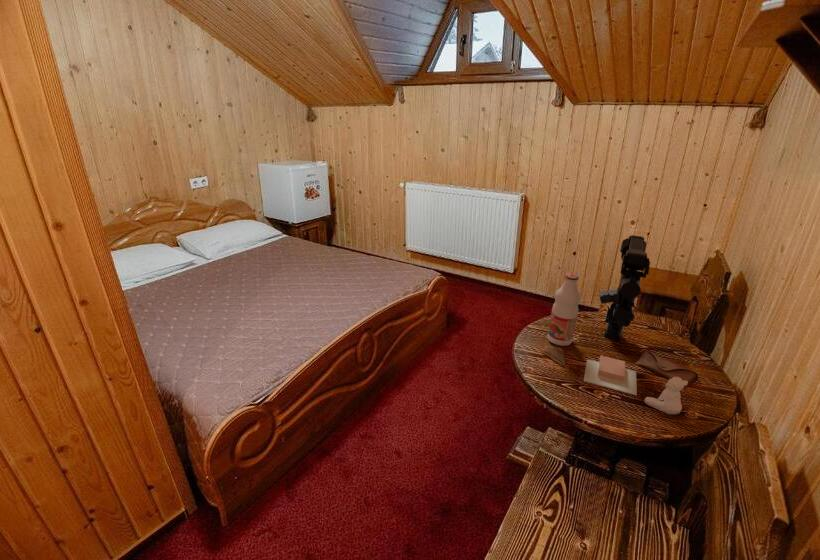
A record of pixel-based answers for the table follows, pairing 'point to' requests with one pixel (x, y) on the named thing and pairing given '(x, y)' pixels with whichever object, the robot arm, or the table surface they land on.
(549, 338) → the fruit juice
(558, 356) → the shard
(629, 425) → the table surface
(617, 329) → the robot arm
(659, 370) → the sunglasses case
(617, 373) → the glazed tile
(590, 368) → the felt mat
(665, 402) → the sitting furry creature
